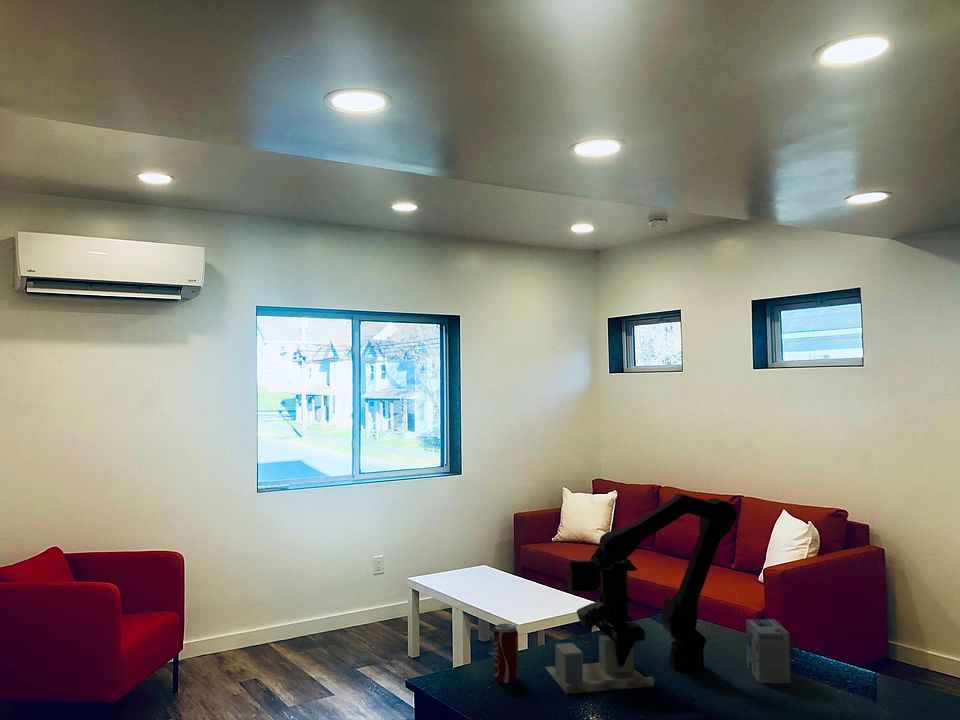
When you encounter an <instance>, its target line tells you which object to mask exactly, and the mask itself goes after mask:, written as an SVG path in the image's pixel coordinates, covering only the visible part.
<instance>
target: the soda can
mask: <svg viewBox="0 0 960 720" xmlns="http://www.w3.org/2000/svg"><path fill="white" fill-rule="evenodd" d="M518 632H519V631H518V630H517V626H516V625H515V624H513V623H499V624H496V625H495V629H494V631H493V670H494V671H493V675H494V676H493V680H494V681H496V682H498V683H502V684H510V683H512V684H513V683H516V682H517V681H518V680H519V633H518Z"/></svg>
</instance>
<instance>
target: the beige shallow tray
mask: <svg viewBox="0 0 960 720" xmlns="http://www.w3.org/2000/svg"><path fill="white" fill-rule="evenodd" d="M544 668H545V669H546V670H547V672H548V673H549V675H550V676H552V678H553V679H554V680H555V681H556V682H557V684H558V685H559V686H560V688H561V689H562V690H563V692H564V693H565V694H580V693H581V694H584V693H589V692H592V693H593V692H600V691H601V692H604V691H615V690H622V689H625V690H626V689H629V690H631V689H638V688H639V689H640V688H646V687H647V688H648V687H655V678H654V677H653V676H643V675H642V674H641V673H640V672H639V671H638V670H637V669H635V668H634V671H632V672H620V673H608V674H606V673H605V672H604V671H603V670H602V669H600V668H599V662H591V663H583V682H580V683H568V684H565V688H564V687H563V686H562V684H561V683H560V682H559V681H558V679H557V678H556V665H553V666H545V667H544Z"/></svg>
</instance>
